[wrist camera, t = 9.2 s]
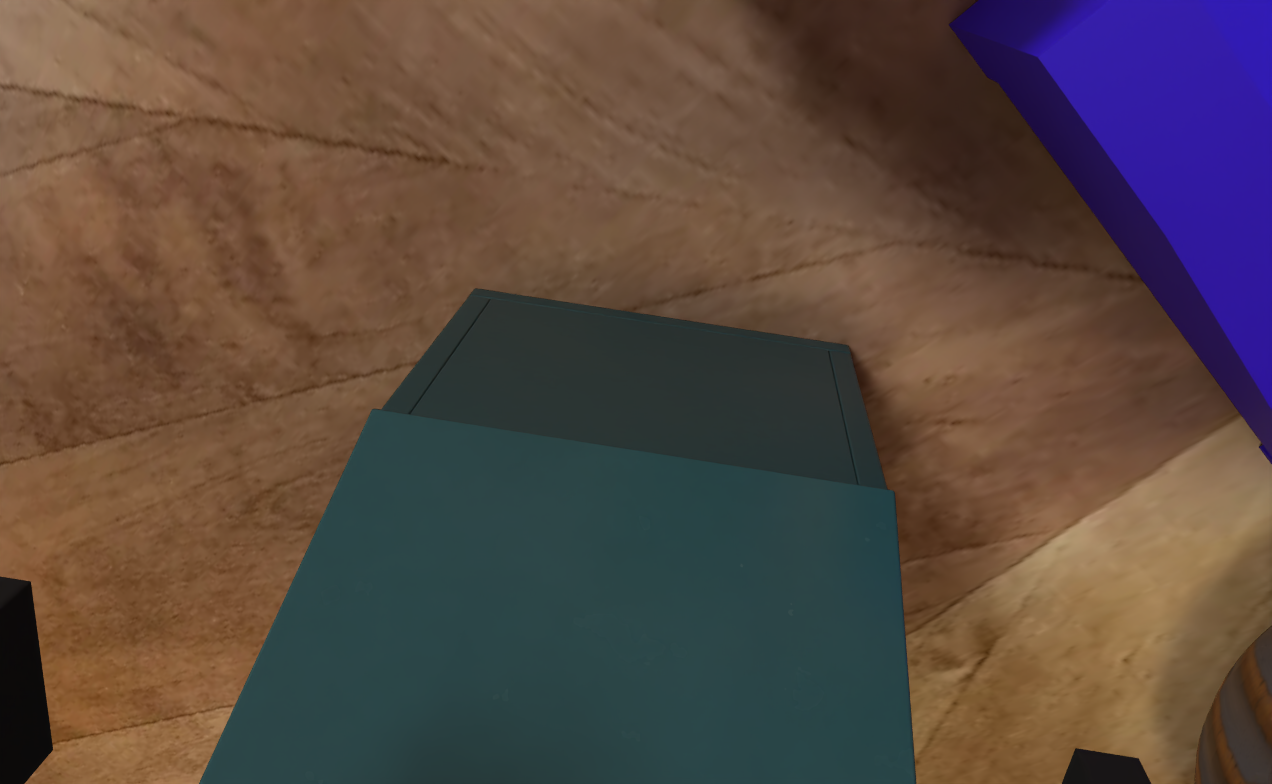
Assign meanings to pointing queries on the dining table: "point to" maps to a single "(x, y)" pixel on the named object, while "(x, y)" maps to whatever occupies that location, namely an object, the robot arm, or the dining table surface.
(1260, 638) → the vase
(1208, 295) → the bracket
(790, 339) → the bin
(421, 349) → the dining table surface
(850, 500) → the lid
